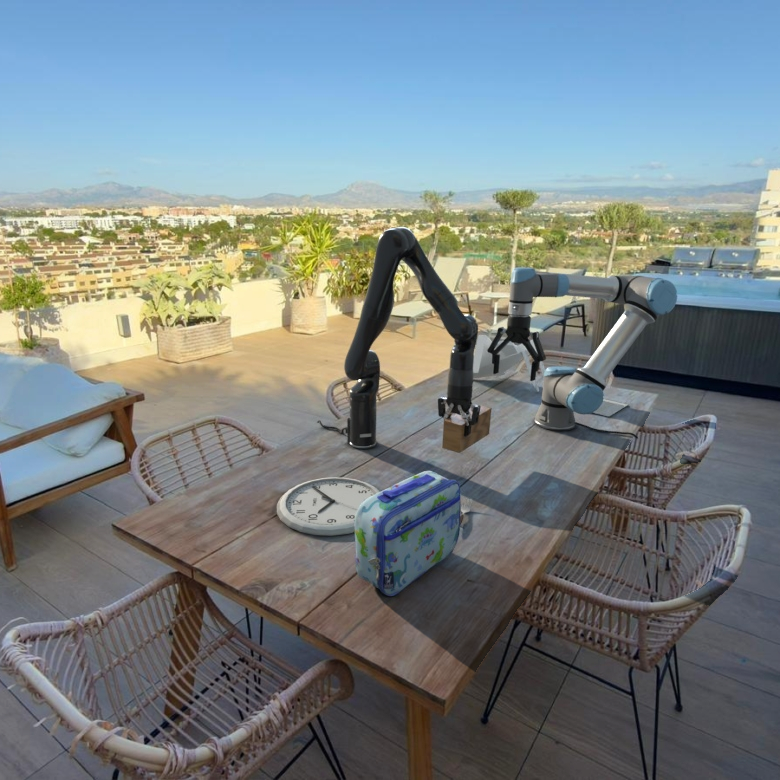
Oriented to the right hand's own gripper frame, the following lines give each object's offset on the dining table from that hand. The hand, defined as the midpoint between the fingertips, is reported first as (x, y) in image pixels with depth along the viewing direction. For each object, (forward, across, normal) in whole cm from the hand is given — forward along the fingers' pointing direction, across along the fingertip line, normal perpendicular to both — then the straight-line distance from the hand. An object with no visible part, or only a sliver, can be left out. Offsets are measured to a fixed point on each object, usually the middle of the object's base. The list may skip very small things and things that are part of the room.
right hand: (513, 376), depth 180 cm
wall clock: (+24, -19, -72) cm, 78 cm away
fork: (+24, +13, -56) cm, 63 cm away
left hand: (+12, -4, -31) cm, 33 cm away
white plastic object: (+24, -32, +63) cm, 75 cm away
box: (+17, -4, -24) cm, 30 cm away
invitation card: (+24, +15, +62) cm, 68 cm away
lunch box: (+24, +14, -82) cm, 87 cm away
